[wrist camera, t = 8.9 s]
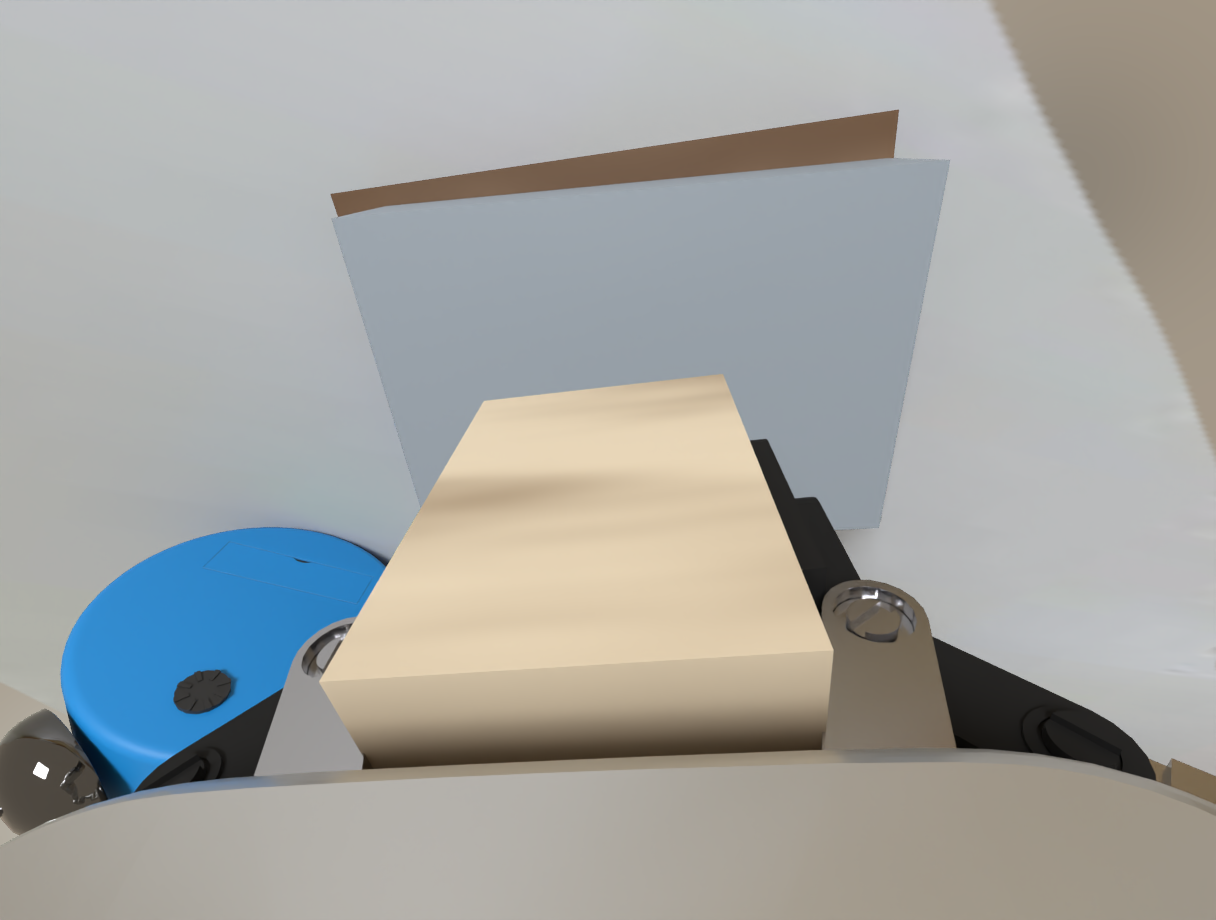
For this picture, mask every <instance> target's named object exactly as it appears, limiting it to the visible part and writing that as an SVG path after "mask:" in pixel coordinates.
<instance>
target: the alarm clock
mask: <svg viewBox="0 0 1216 920" xmlns="http://www.w3.org/2000/svg"><path fill="white" fill-rule="evenodd" d="M385 568H386V566H385V565H384V564H382V563H381V562H380V561H379V560H378V559H377V558H375V557H374V556H373V555H371V554H370V553H368V552H367V551H365V550H363V549H362V548H360V547H358V546H356V545H354V544H352V543H350V542H347V541H345V540H342V539H340V538H337V537H334V536H331V535H327V534H323V533H319V532H314V531H309V530H303V529H294V528H280V527H263V528H248V529H238V530H232V531H226V532H220V533H216V534H211V535H207V536H203V537H200V538H196V539H193V540H190V541H187V542H184V543H181V544H178V545H176V546H173V547H171V548H168V549H166V550H164V551H162V552H160V553H157V554H155V555H153V556H151V557H149V558H148V559H146V560H144V561H142V562H140V563H139V564H137V565H135V566H134V567H132V568H131V569H129V570H128V571H126V572H125V573H123V574H122V575H121V576H120V577H118V578H117V579H116V580H114V581H113V582H112V583H111V584H109V585H108V586H107V587H106V588H105V589H104V590H103V591H102V592H101V593H100V594H98V596H97V597H96V598H95V599H94V600H93V601H92V602H91V603H90V604H89V605H88V607H87V608H86V609H85V611H84V612H83V613H82V615H81V616H80V617H79V619H78V621H77V622H76V624H75V626H74V627H73V629H72V631H71V633H70V636H69V638H68V640H67V642H66V646H65V650H64V653H63V657H62V664H61V688H62V692H63V696H64V700H65V705H66V709H67V713H68V717H69V722H70V726H71V730H72V734H73V735H72V734H71V732H70V731H69V730H68V728H67V727H66V726H65V725H64V724H63V723H62V722H61V720H60V719H59V718H58V717H57V716H56V715H55V714H53V713H52V712H51V711H49V710H47V709H43V710H41V711H39V712H37V713H35V714H33V715H31V716H29V717H27V718H26V719H24V720H23V721H21V722H19V723H18V724H17V725H16V726H15V727H13V728H12V729H11V730H10V731H9V732H8V733H7V734H6V735H5V737H4V738H3V739H2V740H1V742H0V818H1V819H2V821H3V822H4V823H5V824H6V825H7V826H8V827H9V828H10V830H11V831H12V832H14V833H16V834H18V835H21V834H23V833H25V832H27V831H29V830H31V829H34V828H36V827H38V826H40V825H42V824H44V823H46V822H48V821H51V820H53V819H56V818H58V817H61V816H64V815H66V814H69V813H71V812H74V811H76V810H79V809H82V808H84V807H87V806H89V805H92V804H96V803H99V802H103V801H106V800H110V799H113V798H117V797H121V796H124V795H128V794H131V793H134V791H135V790H136V789H137V787H138V786H139V785H140V784H141V782H142V781H143V780H144V779H145V778H146V777H147V776H148V775H149V774H151V773H152V772H153V771H154V770H155V769H156V768H157V767H158V766H159V765H161V764H162V763H164V762H165V761H166V760H168V759H169V758H171V757H172V756H173V755H175V754H176V753H178V752H180V751H181V750H183V749H185V748H186V747H188V746H189V745H191V744H193V743H194V742H196V741H198V740H199V739H201V738H202V737H204V736H206V735H207V734H209V733H211V732H212V731H214V730H215V729H217V728H219V727H220V726H222V725H224V724H225V723H227V722H228V721H230V720H232V719H233V718H235V717H237V716H238V715H240V714H241V713H243V712H245V711H246V710H248V709H250V708H251V707H253V706H254V705H256V704H258V703H259V702H261V701H263V700H264V699H266V698H267V697H269V696H271V695H272V694H274V693H276V692H277V691H279V690H280V689H282V688H284V685H285V682H286V679H287V676H288V673H289V670H290V667H291V664H292V661H293V660H294V658H295V656H296V654H297V652H298V650H299V649H300V648H301V647H302V646H303V645H304V643H305V642H306V641H307V640H308V639H309V638H311V637H312V636H313V635H314V634H316V633H317V632H318V631H320V630H321V629H323V628H325V627H327V626H328V625H330V624H332V623H335V622H337V621H340V620H343V619H346V618H351V617H357V616H358V614H359V613H360V611H361V609H362V608H363V606H364V604H365V602H366V601H367V599H368V597H369V596H370V594H371V592H372V591H373V589H374V587H375V585H376V584H377V582H378V580H379V579H380V577H381V575H382V574H383V572H384V570H385Z"/></svg>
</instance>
